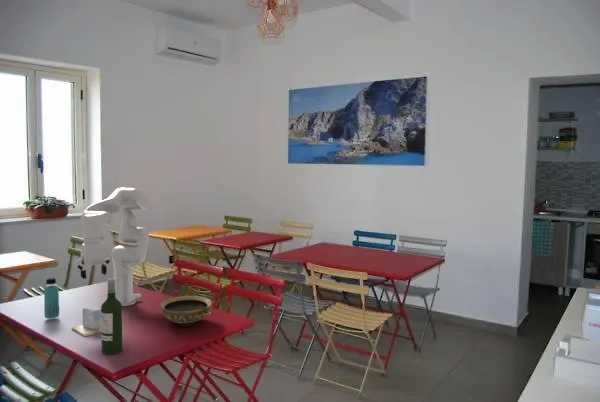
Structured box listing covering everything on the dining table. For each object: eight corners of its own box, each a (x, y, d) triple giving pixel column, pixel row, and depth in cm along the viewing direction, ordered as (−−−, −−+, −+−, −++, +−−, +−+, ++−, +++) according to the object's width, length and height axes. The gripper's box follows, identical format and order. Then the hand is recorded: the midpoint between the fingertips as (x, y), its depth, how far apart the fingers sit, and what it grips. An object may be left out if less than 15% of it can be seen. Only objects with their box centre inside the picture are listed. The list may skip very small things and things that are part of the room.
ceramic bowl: (144, 324, 229) (144, 303, 229) (181, 311, 250) (181, 292, 249) (191, 337, 214) (191, 315, 213) (226, 322, 235) (226, 302, 234)
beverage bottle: (53, 322, 230) (52, 280, 228) (41, 320, 231) (40, 279, 229) (62, 317, 236) (61, 277, 234) (50, 316, 237) (49, 276, 236)
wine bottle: (97, 353, 194) (96, 280, 192) (111, 346, 202) (110, 275, 199) (112, 356, 192) (112, 282, 189) (126, 349, 199) (125, 277, 196)
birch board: (99, 322, 230) (99, 320, 230) (112, 329, 222) (112, 327, 221) (71, 329, 220) (71, 327, 220) (84, 336, 212) (84, 334, 212)
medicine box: (102, 327, 221) (102, 308, 220) (94, 330, 217) (93, 311, 216) (90, 324, 225) (90, 306, 224) (82, 327, 221) (82, 308, 220)
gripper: (106, 236, 234) (107, 271, 236) (70, 242, 221) (71, 278, 223) (114, 239, 229) (115, 274, 232) (77, 244, 216) (79, 281, 218)
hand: (94, 276), depth 227 cm, fingers open, 9 cm apart
